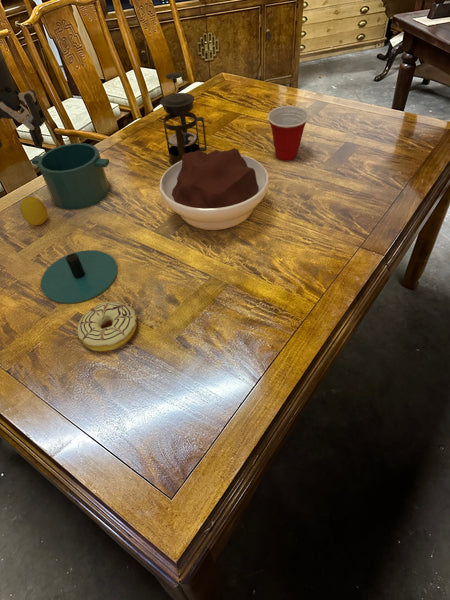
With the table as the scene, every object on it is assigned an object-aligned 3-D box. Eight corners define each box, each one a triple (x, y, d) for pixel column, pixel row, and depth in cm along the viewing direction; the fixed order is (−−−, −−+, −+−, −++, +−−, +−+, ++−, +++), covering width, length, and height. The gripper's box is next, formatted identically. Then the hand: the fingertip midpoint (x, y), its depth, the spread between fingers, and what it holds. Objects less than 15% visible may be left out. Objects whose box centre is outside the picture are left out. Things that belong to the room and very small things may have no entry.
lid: (101, 309, 82) (92, 288, 77) (28, 301, 84) (16, 280, 80) (128, 257, 92) (122, 235, 88) (63, 251, 95) (54, 230, 91)
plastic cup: (264, 165, 115) (265, 122, 107) (269, 147, 123) (269, 105, 114) (304, 167, 114) (308, 123, 105) (306, 148, 121) (310, 105, 112)
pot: (106, 212, 105) (94, 174, 97) (34, 207, 108) (16, 170, 100) (126, 180, 114) (117, 144, 107) (59, 177, 118) (46, 141, 110)
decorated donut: (140, 308, 81) (136, 294, 78) (137, 352, 74) (132, 339, 71) (87, 313, 81) (81, 300, 78) (78, 358, 74) (71, 345, 71)
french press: (164, 169, 118) (149, 82, 101) (169, 152, 124) (155, 68, 107) (206, 167, 117) (197, 79, 100) (208, 151, 123) (200, 66, 106)
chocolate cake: (227, 260, 89) (222, 200, 78) (144, 223, 100) (129, 165, 89) (288, 204, 102) (291, 145, 91) (209, 176, 113) (203, 120, 102)
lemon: (28, 222, 104) (14, 194, 98) (50, 216, 105) (38, 188, 99) (29, 234, 100) (15, 206, 94) (52, 228, 101) (40, 200, 95)
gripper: (27, 49, 75) (58, 137, 87) (-48, 54, 76) (-7, 139, 88) (11, 64, 70) (47, 154, 82) (-70, 68, 71) (-23, 157, 83)
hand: (19, 147), depth 85 cm, fingers open, 8 cm apart
